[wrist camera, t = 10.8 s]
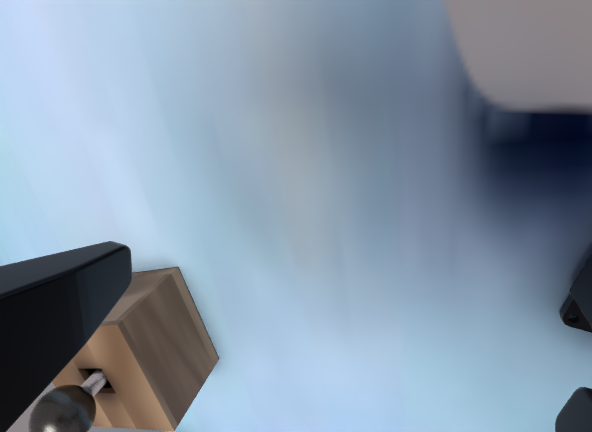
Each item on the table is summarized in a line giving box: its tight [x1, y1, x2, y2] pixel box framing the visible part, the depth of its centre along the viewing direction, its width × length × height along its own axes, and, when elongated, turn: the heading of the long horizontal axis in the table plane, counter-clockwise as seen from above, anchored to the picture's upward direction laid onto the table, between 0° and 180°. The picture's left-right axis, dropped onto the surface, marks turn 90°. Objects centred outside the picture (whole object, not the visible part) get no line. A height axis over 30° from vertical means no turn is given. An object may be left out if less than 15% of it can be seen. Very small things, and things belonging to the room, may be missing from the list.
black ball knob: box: [29, 368, 108, 432], centre depth 24 cm, size 6×6×9 cm
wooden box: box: [52, 267, 219, 431], centre depth 26 cm, size 8×8×6 cm
